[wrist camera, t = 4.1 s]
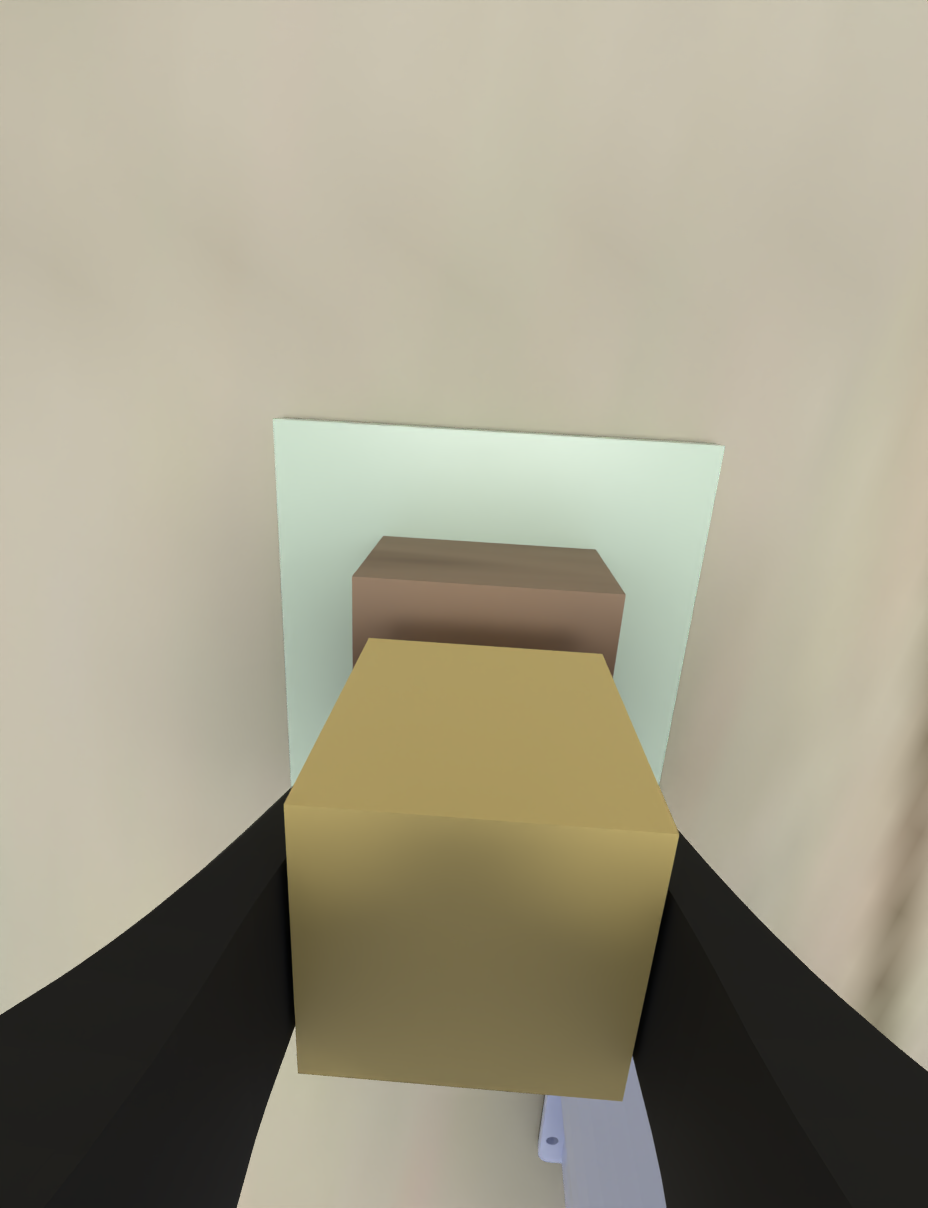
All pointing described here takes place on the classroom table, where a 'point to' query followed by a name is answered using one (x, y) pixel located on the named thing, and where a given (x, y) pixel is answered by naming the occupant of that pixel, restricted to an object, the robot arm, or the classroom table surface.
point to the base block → (487, 596)
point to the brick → (476, 873)
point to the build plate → (488, 538)
